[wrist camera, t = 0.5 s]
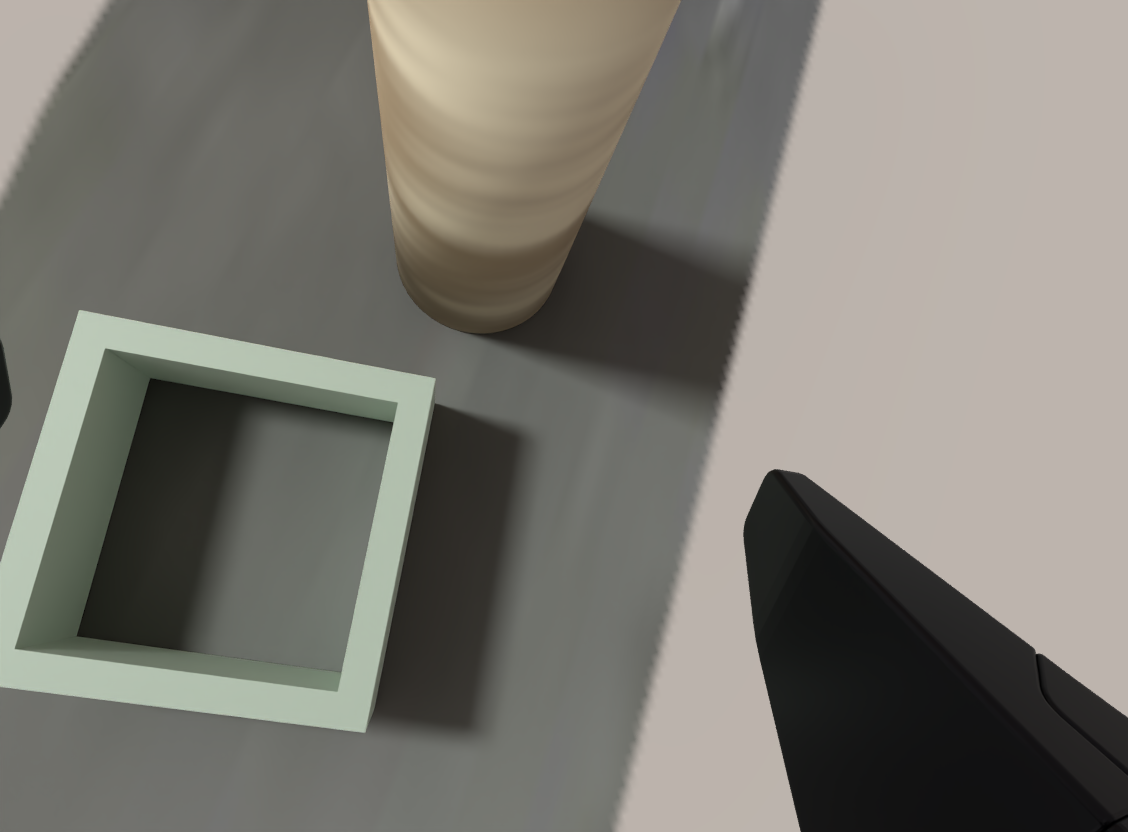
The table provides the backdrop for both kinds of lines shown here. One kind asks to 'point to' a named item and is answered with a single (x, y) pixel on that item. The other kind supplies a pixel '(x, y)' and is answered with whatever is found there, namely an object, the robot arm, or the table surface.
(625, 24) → the maple dowel
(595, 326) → the table surface
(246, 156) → the table surface
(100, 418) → the sage collar
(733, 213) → the table surface
